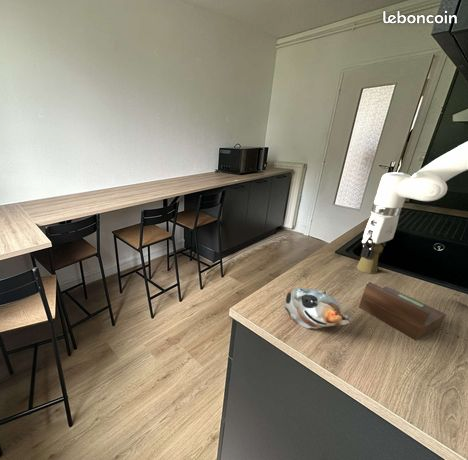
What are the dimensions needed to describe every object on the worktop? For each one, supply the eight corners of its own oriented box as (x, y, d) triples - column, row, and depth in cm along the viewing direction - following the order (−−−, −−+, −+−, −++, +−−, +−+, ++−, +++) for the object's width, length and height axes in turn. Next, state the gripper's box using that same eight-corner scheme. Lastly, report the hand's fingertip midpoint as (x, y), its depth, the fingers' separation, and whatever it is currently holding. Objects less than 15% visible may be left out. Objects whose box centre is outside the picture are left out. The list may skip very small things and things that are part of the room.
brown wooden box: (382, 296, 81) (391, 272, 77) (440, 325, 69) (454, 299, 65) (358, 307, 77) (366, 282, 73) (415, 340, 65) (428, 313, 61)
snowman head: (342, 315, 74) (368, 296, 63) (325, 348, 69) (349, 334, 58) (293, 284, 81) (308, 263, 70) (274, 313, 76) (287, 294, 65)
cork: (355, 263, 99) (363, 238, 95) (375, 267, 96) (384, 241, 92) (357, 271, 94) (365, 245, 90) (377, 275, 91) (387, 248, 87)
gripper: (383, 217, 80) (366, 266, 87) (413, 209, 85) (396, 255, 93) (358, 210, 86) (344, 256, 93) (388, 203, 92) (373, 247, 99)
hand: (370, 255), depth 93 cm, fingers closed on cork, 5 cm apart
